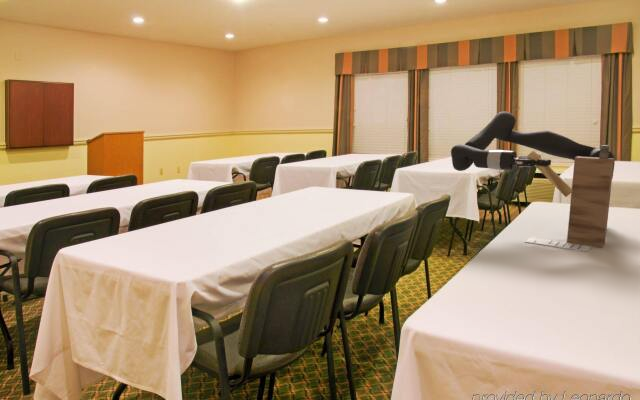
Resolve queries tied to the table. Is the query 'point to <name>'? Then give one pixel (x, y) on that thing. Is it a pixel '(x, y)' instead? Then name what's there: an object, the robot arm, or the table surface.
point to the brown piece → (590, 199)
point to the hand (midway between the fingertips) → (549, 163)
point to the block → (552, 176)
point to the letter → (558, 244)
